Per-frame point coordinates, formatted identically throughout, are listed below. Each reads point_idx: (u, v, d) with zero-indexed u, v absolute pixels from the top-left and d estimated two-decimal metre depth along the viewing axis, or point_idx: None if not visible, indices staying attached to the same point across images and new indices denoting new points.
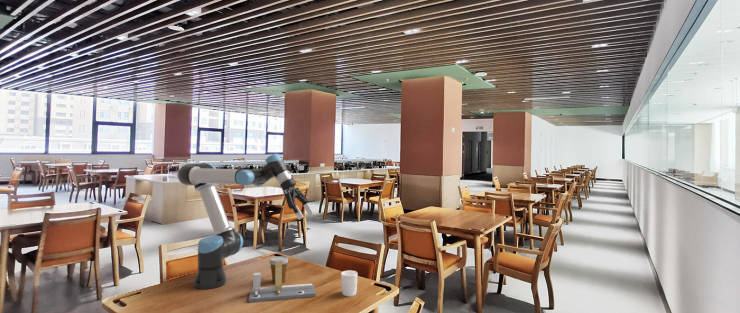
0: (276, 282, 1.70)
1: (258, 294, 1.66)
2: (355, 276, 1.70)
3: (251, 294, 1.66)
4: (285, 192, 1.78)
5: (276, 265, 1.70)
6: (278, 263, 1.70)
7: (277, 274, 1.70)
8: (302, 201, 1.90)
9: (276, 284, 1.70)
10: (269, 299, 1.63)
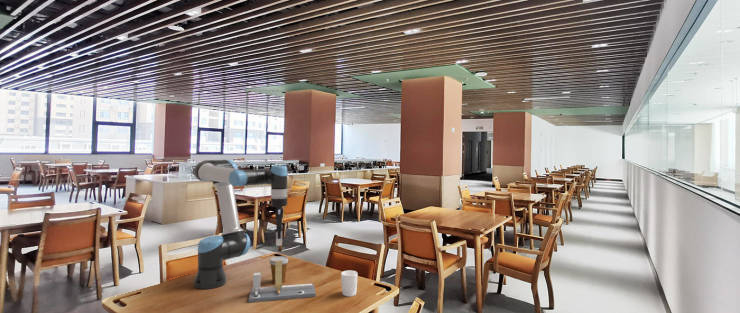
0: (276, 282, 1.70)
1: (258, 294, 1.66)
2: (355, 276, 1.70)
3: (251, 294, 1.66)
4: (278, 212, 1.65)
5: (276, 265, 1.70)
6: (278, 263, 1.70)
7: (277, 274, 1.70)
8: None
9: (276, 284, 1.70)
10: (269, 299, 1.63)
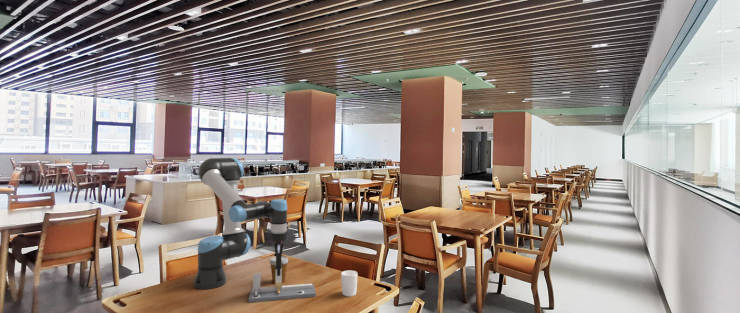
0: None
1: (258, 294, 1.66)
2: (355, 276, 1.70)
3: (251, 294, 1.66)
4: (278, 252, 1.66)
5: None
6: None
7: None
8: None
9: (276, 284, 1.70)
10: (269, 299, 1.63)
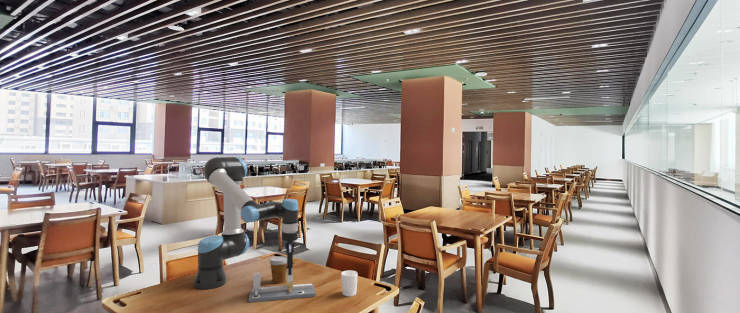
0: None
1: (258, 294, 1.66)
2: (355, 276, 1.70)
3: (251, 294, 1.66)
4: (289, 251, 1.67)
5: None
6: None
7: None
8: None
9: (287, 283, 1.72)
10: (269, 299, 1.63)
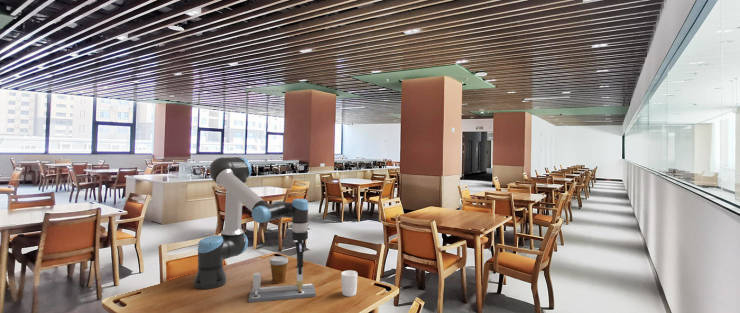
0: None
1: (258, 294, 1.66)
2: (355, 276, 1.70)
3: (251, 294, 1.66)
4: (299, 250, 1.68)
5: (297, 264, 1.73)
6: None
7: None
8: None
9: (297, 282, 1.73)
10: (269, 299, 1.63)
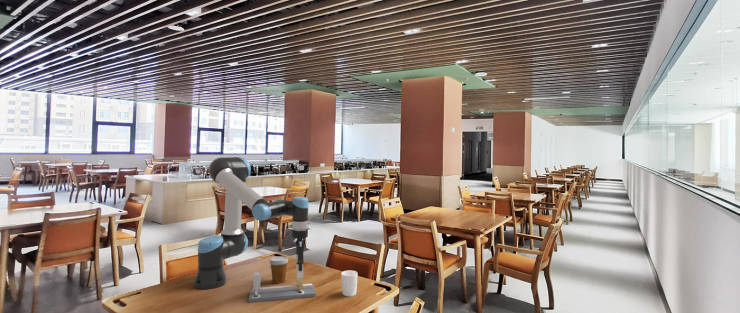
0: (297, 280, 1.73)
1: (258, 294, 1.66)
2: (355, 276, 1.70)
3: (251, 294, 1.66)
4: (299, 245, 1.67)
5: None
6: None
7: None
8: None
9: (297, 282, 1.73)
10: (269, 299, 1.63)
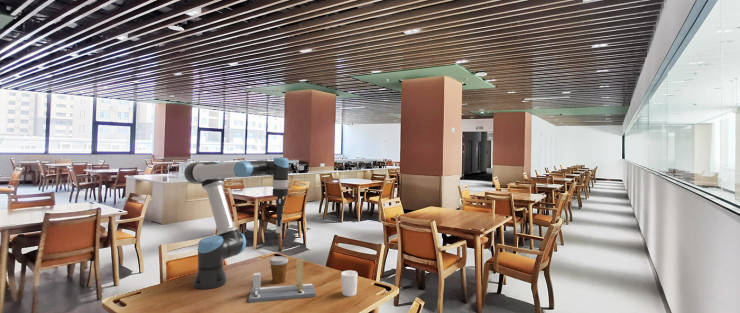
0: (297, 280, 1.73)
1: (258, 294, 1.66)
2: (355, 276, 1.70)
3: (251, 294, 1.66)
4: (279, 202, 1.75)
5: (297, 264, 1.73)
6: (299, 262, 1.73)
7: (298, 273, 1.73)
8: None
9: (297, 282, 1.73)
10: (269, 299, 1.63)
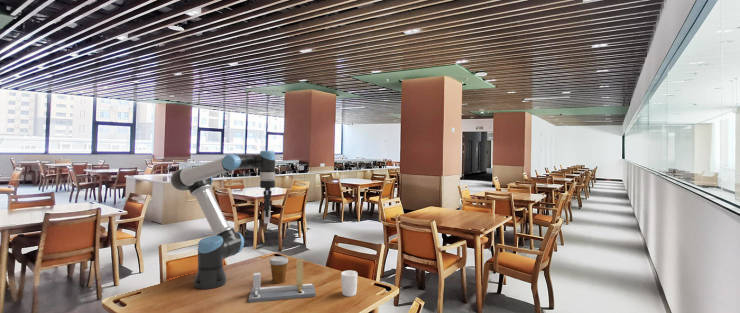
0: (297, 280, 1.73)
1: (258, 294, 1.66)
2: (355, 276, 1.70)
3: (251, 294, 1.66)
4: (266, 193, 1.81)
5: (297, 264, 1.73)
6: (299, 262, 1.73)
7: (298, 273, 1.73)
8: None
9: (297, 282, 1.73)
10: (269, 299, 1.63)
